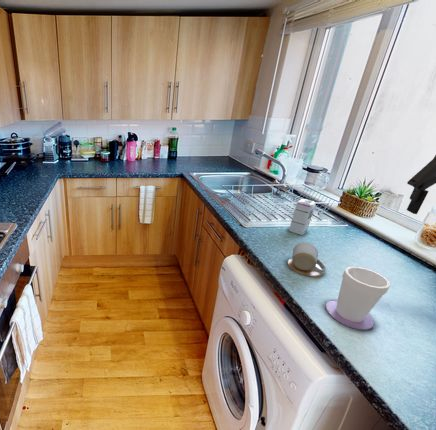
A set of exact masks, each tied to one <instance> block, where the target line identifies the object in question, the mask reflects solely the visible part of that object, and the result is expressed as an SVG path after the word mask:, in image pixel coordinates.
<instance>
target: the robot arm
mask: <svg viewBox="0 0 436 430" xmlns="http://www.w3.org/2000/svg"><path fill="white" fill-rule="evenodd" d="M406 184H407V185H409V186H411V187H413V189H412V192H411V194H410V196H409V200H410V202H409V204H408V205H407V208H406V211H407V212H410V213H411V214H412V215H418V213H419V211H420V209H421V207H422V205H423V203H424V201H425V200H426V197H427V196H428V194H429V190H427V189H429V188H431V187H432V186H435V184H436V154H435V155H434V157H433V158H432V159H431V160H430V161H429V162H428V163H426V164H425V166H424V167H422V168H421V169H420V170H419V171H418V172H417V173H416V174H414V175H413V176H412V177H411V178H410V179H409V180H408V181H407V182H406Z"/></svg>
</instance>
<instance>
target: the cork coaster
mask: <svg viewBox="0 0 436 430" xmlns="http://www.w3.org/2000/svg"><path fill="white" fill-rule="evenodd" d="M287 266H288V267H289V268H290V269H291V270H293V271H294V272H296V273H298V274H300V275H303V276H306V277H311V278H312V277H313V278H317V277H321V276H323V274H324V272H323V273H318V272H316V271H314V270H313V269H311V270H301V269H298V268H297V267H295V265H294V264H293V261H292V258H289V259H288V260H287ZM316 267H317V268H319V269H321V268H320V267H319V265H317V264H316Z"/></svg>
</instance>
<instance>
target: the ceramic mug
mask: <svg viewBox="0 0 436 430" xmlns="http://www.w3.org/2000/svg"><path fill="white" fill-rule="evenodd" d="M318 257H319V251H318V248H317V247H316V246H315V245H314V244H312V243H309V242H299V243H297V244H296V245H294V247H293V250H292V257H291V259H292V261H293V264H294V265H295V267H297V268H298V269H301V270H311V269H313V270H314V271H316V272H318V273H323V274H324V272H326V270H327V269H326V266H325V264H324V263H323V262H322V261H321V260H320V259H318ZM316 264H317V265H319V267H320V268H321V269H319V268H317V267H316Z"/></svg>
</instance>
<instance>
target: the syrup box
mask: <svg viewBox="0 0 436 430" xmlns="http://www.w3.org/2000/svg"><path fill="white" fill-rule="evenodd" d="M316 204H317V201H314V200H311V199H307V198H301V199H299V200H298V201H296V204H295V208H294V211H293V215H292V218H291V220H290V225H289V228H288V231H289V232H291V233H294V234H297V235H300V236H303V235H304V234H306V233H307V232H308V229H309V226H310V223H311V219H312V217H313V213H314V210H315V207H316Z"/></svg>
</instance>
